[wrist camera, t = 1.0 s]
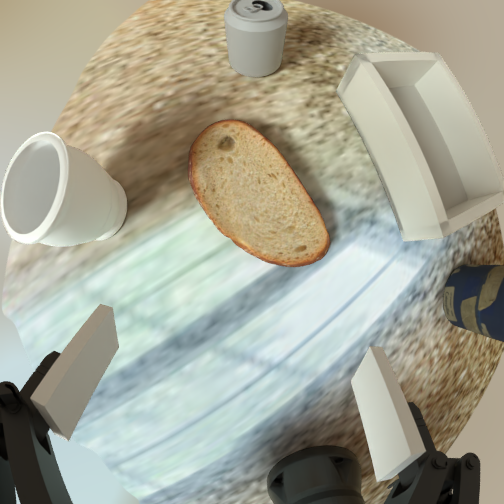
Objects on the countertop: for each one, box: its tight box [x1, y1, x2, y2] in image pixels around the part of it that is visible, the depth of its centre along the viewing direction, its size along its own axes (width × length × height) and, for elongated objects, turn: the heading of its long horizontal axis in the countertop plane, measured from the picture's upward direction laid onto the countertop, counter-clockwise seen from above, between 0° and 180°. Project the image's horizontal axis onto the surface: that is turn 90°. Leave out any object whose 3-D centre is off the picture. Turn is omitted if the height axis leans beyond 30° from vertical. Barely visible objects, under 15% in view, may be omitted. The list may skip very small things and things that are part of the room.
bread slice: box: [188, 120, 330, 267], centre depth 32 cm, size 18×18×4 cm
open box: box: [336, 52, 504, 242], centre depth 29 cm, size 23×16×9 cm
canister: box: [443, 264, 504, 342], centre depth 24 cm, size 10×10×18 cm
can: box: [224, 0, 288, 77], centre depth 27 cm, size 8×8×12 cm
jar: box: [0, 132, 127, 247], centre depth 26 cm, size 11×10×15 cm
